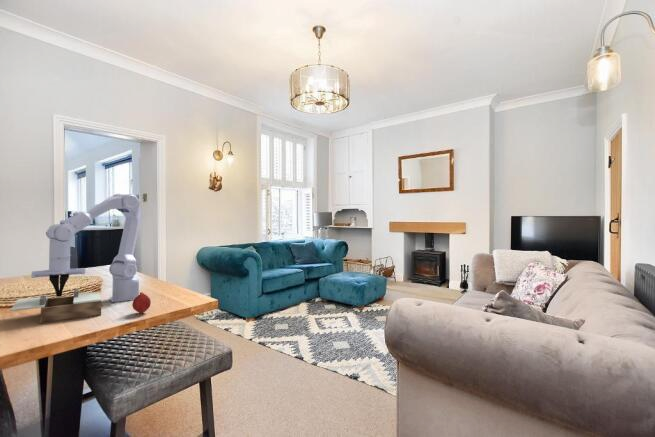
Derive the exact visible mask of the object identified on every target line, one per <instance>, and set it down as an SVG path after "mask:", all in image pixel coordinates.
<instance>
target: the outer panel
mask: <svg viewBox="0 0 655 437" xmlns="http://www.w3.org/2000/svg"><path fill="white" fill-rule="evenodd" d="M48 298H49V297H48V296H46V295H41V296H36V297H28V298H19V299H16V301H15V302H14V304H13V305H12V307H11V308H10V312H16V311H18V312H19V311H25V310H35V309H41V308H44V306H45V304H46V301H47V299H48Z"/></svg>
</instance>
